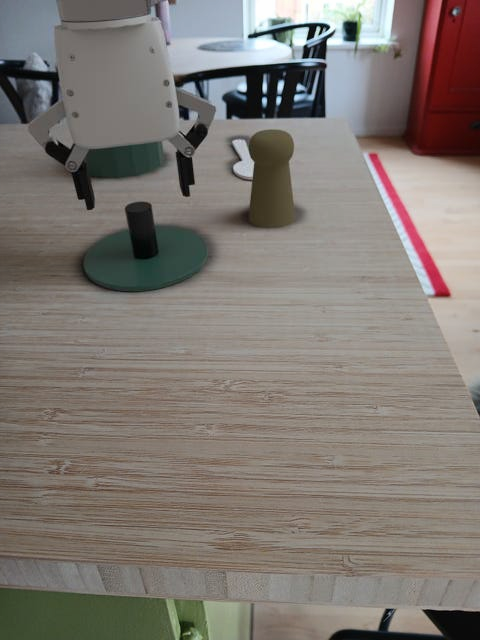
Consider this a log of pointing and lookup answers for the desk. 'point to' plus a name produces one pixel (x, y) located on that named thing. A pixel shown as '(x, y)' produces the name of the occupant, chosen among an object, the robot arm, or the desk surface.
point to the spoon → (243, 160)
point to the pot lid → (145, 254)
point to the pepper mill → (271, 179)
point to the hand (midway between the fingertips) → (138, 198)
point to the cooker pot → (124, 160)
